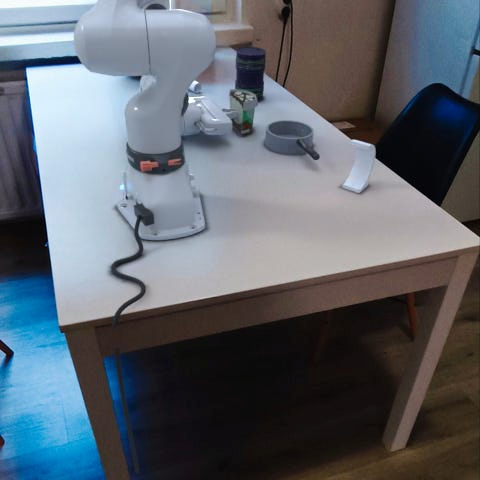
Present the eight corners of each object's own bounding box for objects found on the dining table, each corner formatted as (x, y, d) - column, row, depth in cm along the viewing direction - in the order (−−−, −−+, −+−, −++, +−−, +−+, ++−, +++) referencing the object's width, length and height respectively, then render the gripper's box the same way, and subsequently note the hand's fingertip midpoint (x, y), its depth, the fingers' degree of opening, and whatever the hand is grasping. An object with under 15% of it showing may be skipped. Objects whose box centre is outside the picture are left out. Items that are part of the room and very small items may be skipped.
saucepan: (319, 151, 136) (322, 135, 133) (276, 157, 132) (277, 141, 130) (299, 133, 146) (301, 118, 143) (258, 138, 142) (259, 122, 139)
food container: (262, 136, 143) (264, 101, 137) (242, 138, 141) (244, 103, 135) (247, 120, 152) (248, 87, 146) (228, 122, 150) (229, 88, 144)
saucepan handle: (320, 161, 125) (321, 154, 124) (314, 162, 125) (315, 155, 124) (300, 142, 134) (301, 136, 133) (294, 143, 133) (295, 137, 132)
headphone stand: (341, 187, 121) (350, 140, 113) (352, 178, 124) (361, 132, 117) (359, 193, 119) (369, 146, 111) (369, 184, 122) (379, 137, 115)
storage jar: (247, 104, 162) (250, 46, 151) (228, 96, 168) (229, 39, 157) (269, 98, 168) (273, 41, 156) (250, 90, 173) (252, 35, 162)
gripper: (201, 120, 129) (250, 115, 133) (180, 94, 143) (224, 90, 147) (201, 143, 133) (249, 137, 137) (181, 115, 147) (224, 111, 151)
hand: (236, 112), depth 142 cm, fingers closed, pressing on food container
